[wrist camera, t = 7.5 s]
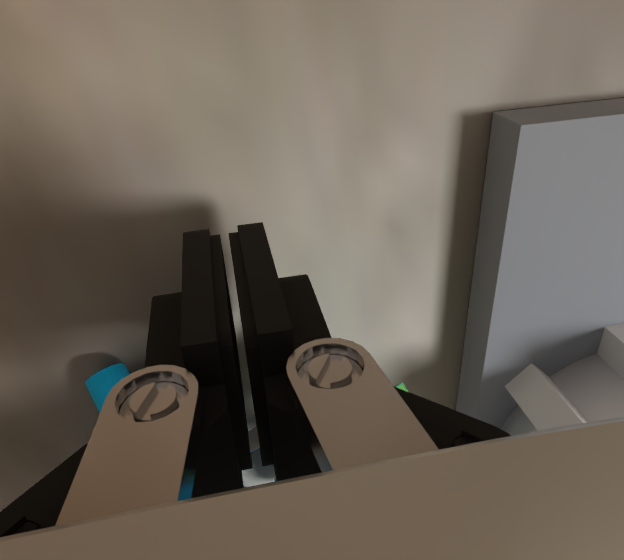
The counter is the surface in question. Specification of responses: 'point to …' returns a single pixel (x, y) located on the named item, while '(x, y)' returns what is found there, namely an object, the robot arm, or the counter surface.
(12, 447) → the counter surface
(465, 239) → the counter surface
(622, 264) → the carrier plate
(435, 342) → the counter surface
